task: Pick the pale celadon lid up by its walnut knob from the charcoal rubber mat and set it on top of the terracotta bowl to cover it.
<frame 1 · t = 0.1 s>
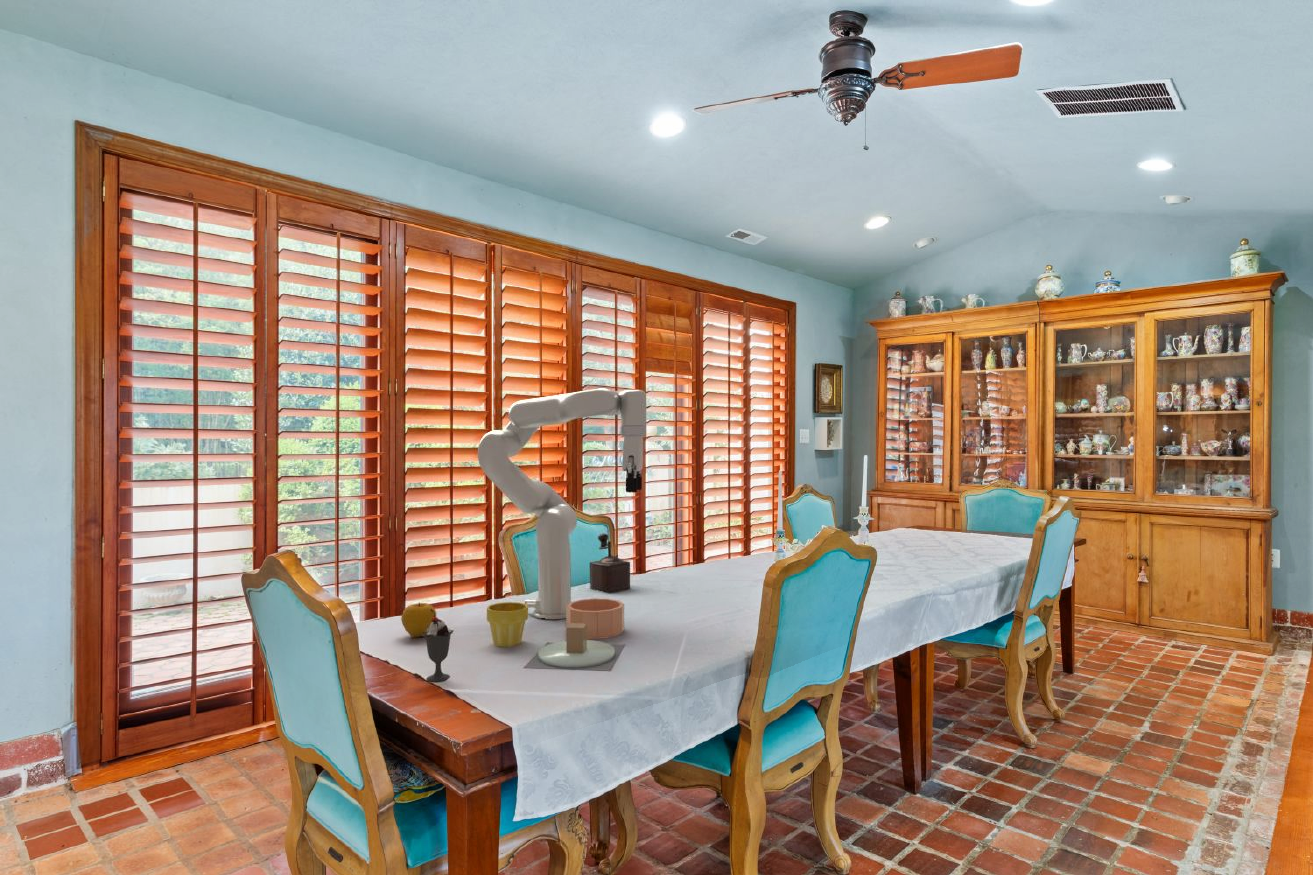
hand: (633, 490, 209), 37 cm above the table, tool pointing down, fingers open, 9 cm apart
sundae: (438, 679, 156), on the table
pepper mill: (606, 588, 249), on the table
plant pot: (507, 645, 181), on the table
bowl: (595, 632, 192), on the table
apple: (418, 637, 189), on the table
lid: (576, 655, 170), point 1 cm above the table, touching mat
mat: (576, 658, 170), on the table
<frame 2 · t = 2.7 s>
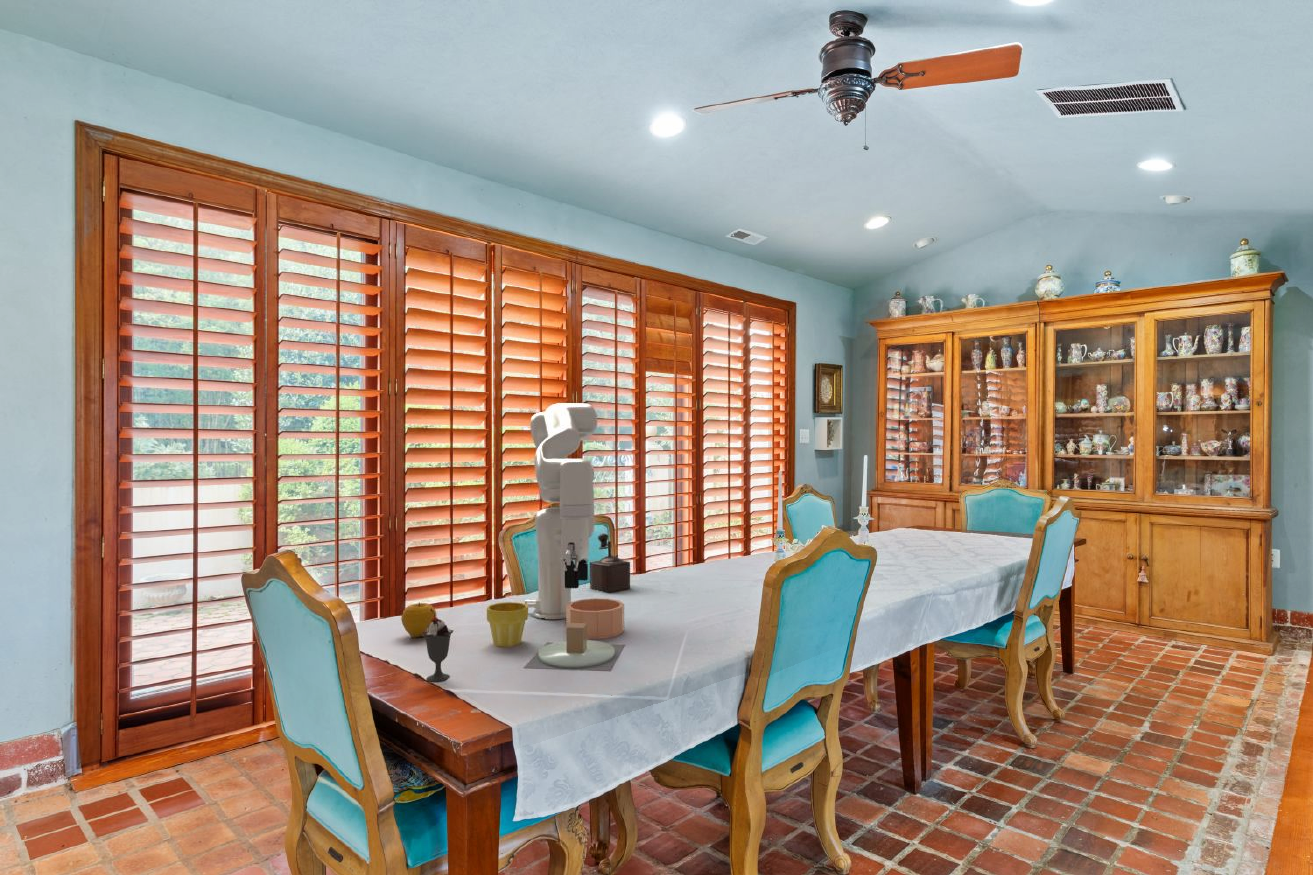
hand: (576, 583, 170), 18 cm above the table, tool pointing down, fingers open, 9 cm apart
nothing on the table moved.
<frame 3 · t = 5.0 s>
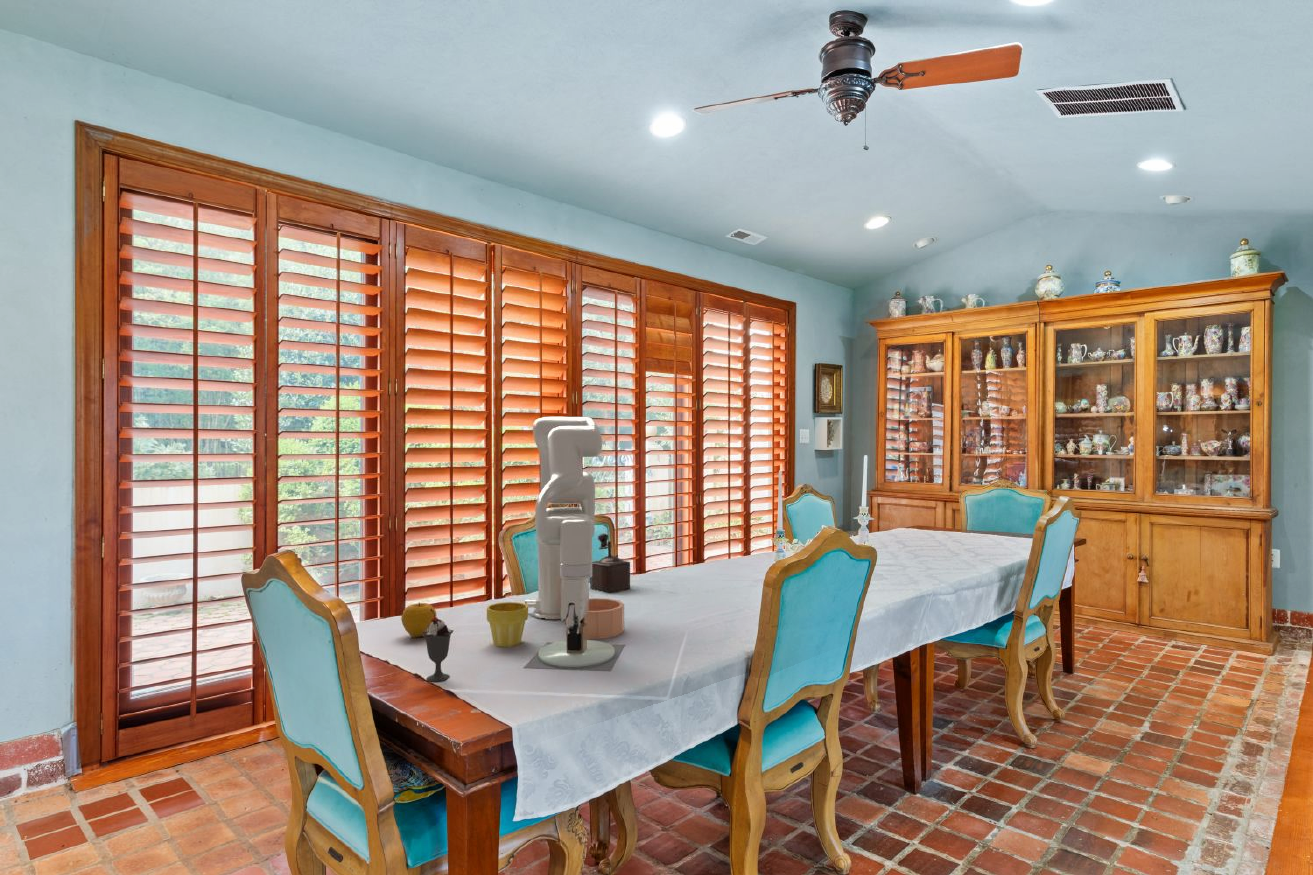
hand: (576, 646, 170), 3 cm above the table, tool pointing down, fingers closed on lid, 4 cm apart
lid: (576, 655, 170), point 1 cm above the table, touching gripper, mat
everything else where it was.
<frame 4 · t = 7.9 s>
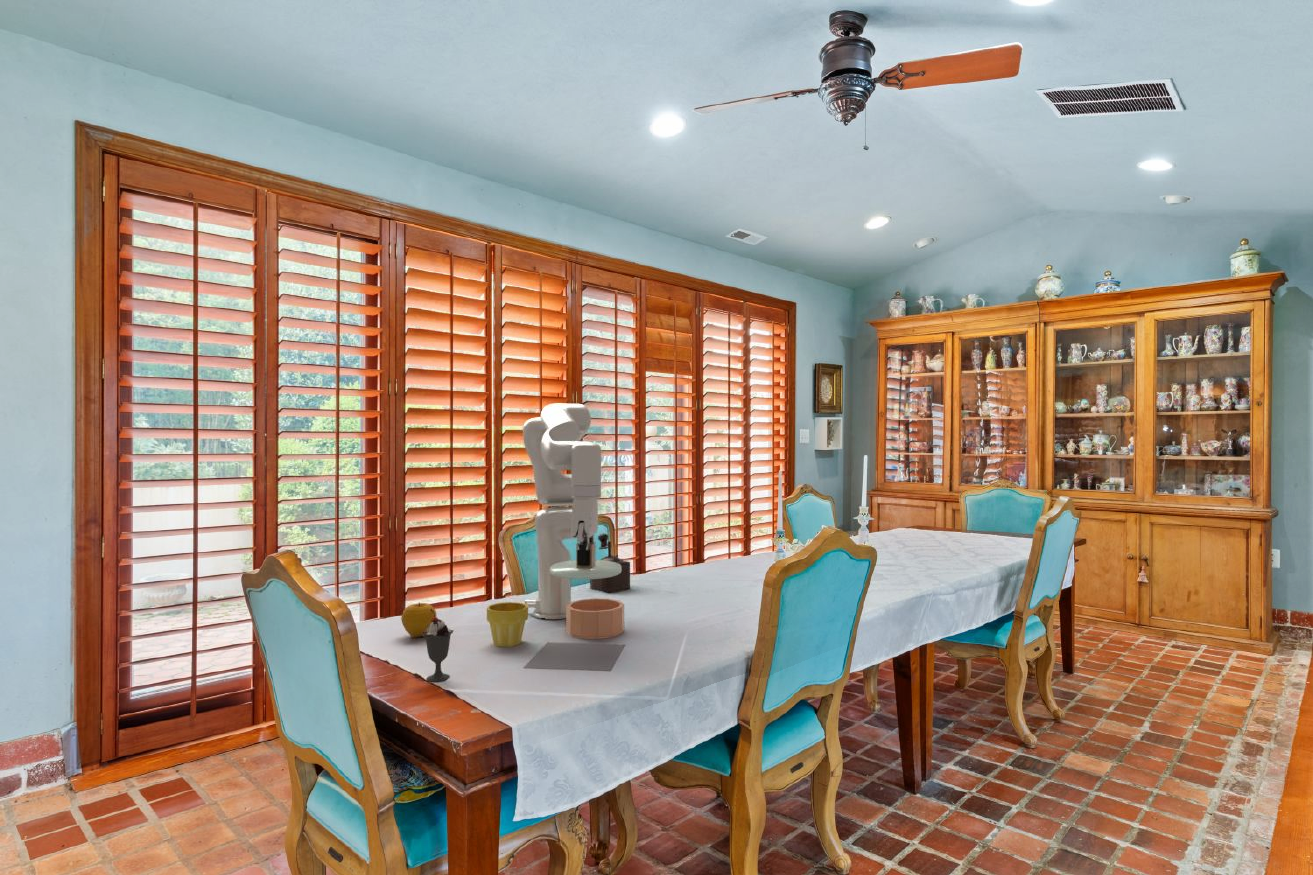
hand: (585, 562, 182), 21 cm above the table, tool pointing down, fingers closed on lid, 4 cm apart
lid: (586, 571, 182), point 18 cm above the table, touching gripper
everything else where it was.
when the fingers open (11 cm above the table, at t = 11.2 s): lid drops 2 cm, resting on bowl.
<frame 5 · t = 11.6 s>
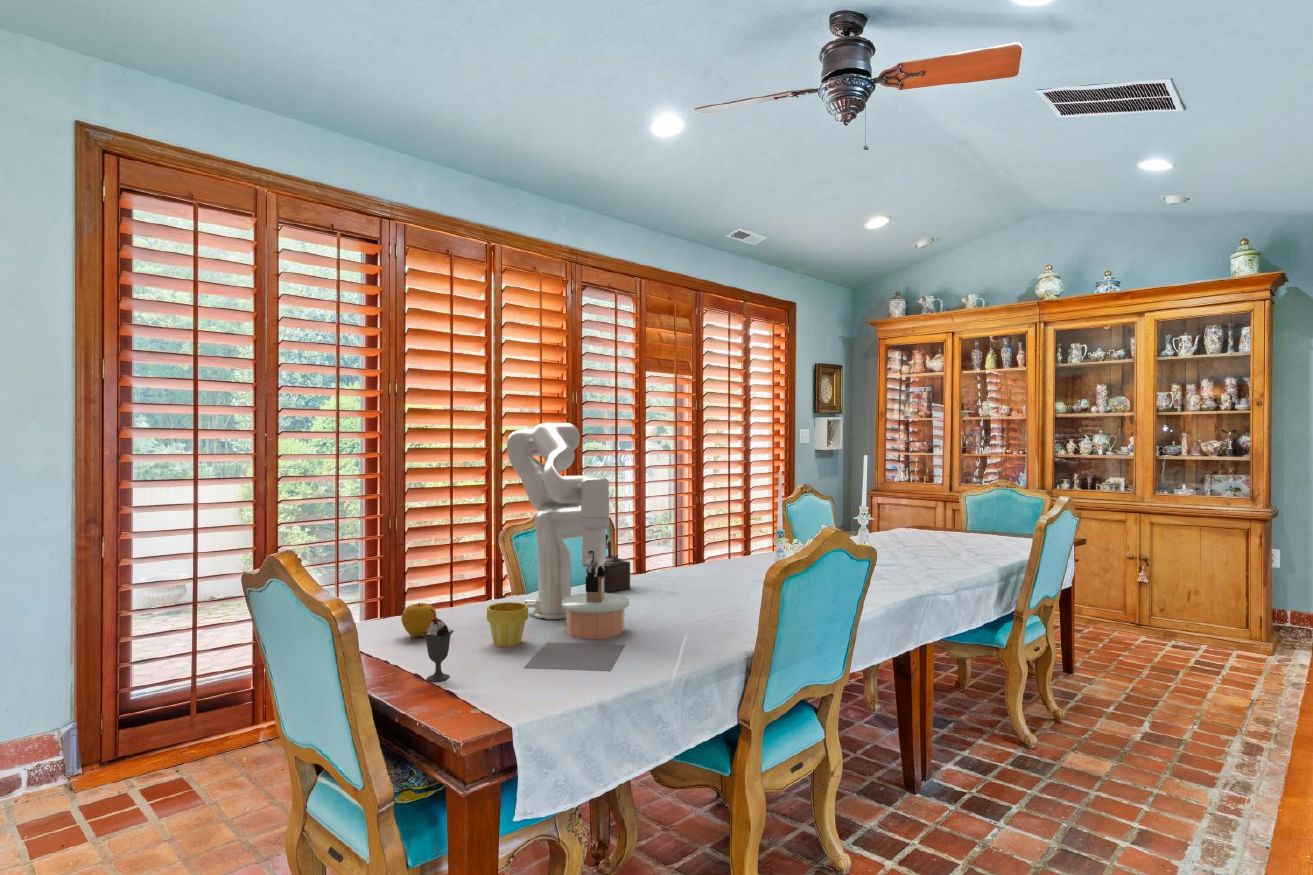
hand: (595, 587, 192), 12 cm above the table, tool pointing down, fingers open, 8 cm apart
lid: (595, 604, 192), point 7 cm above the table, touching bowl
everything else where it was.
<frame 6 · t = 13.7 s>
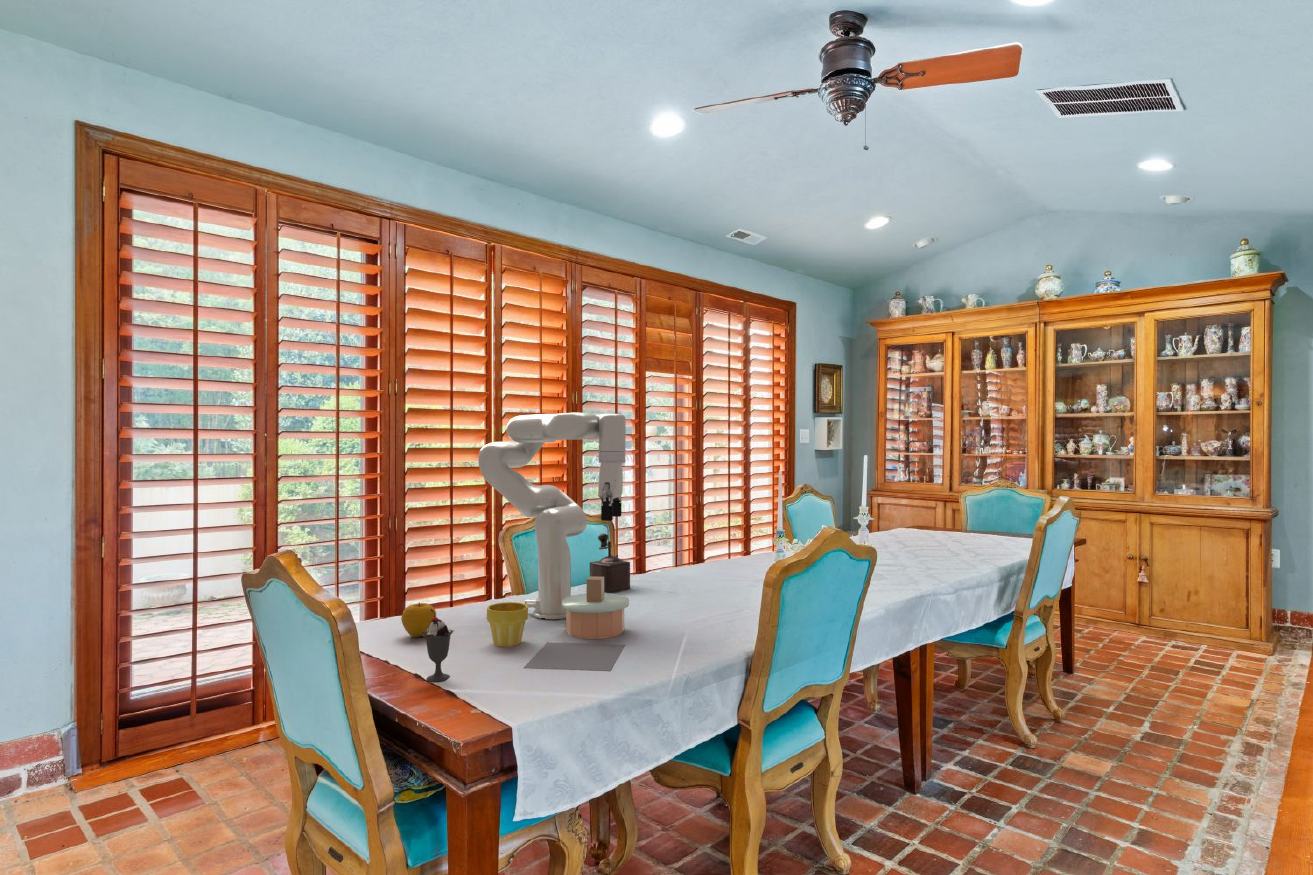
hand: (611, 518, 201), 30 cm above the table, tool pointing down, fingers open, 9 cm apart
nothing on the table moved.
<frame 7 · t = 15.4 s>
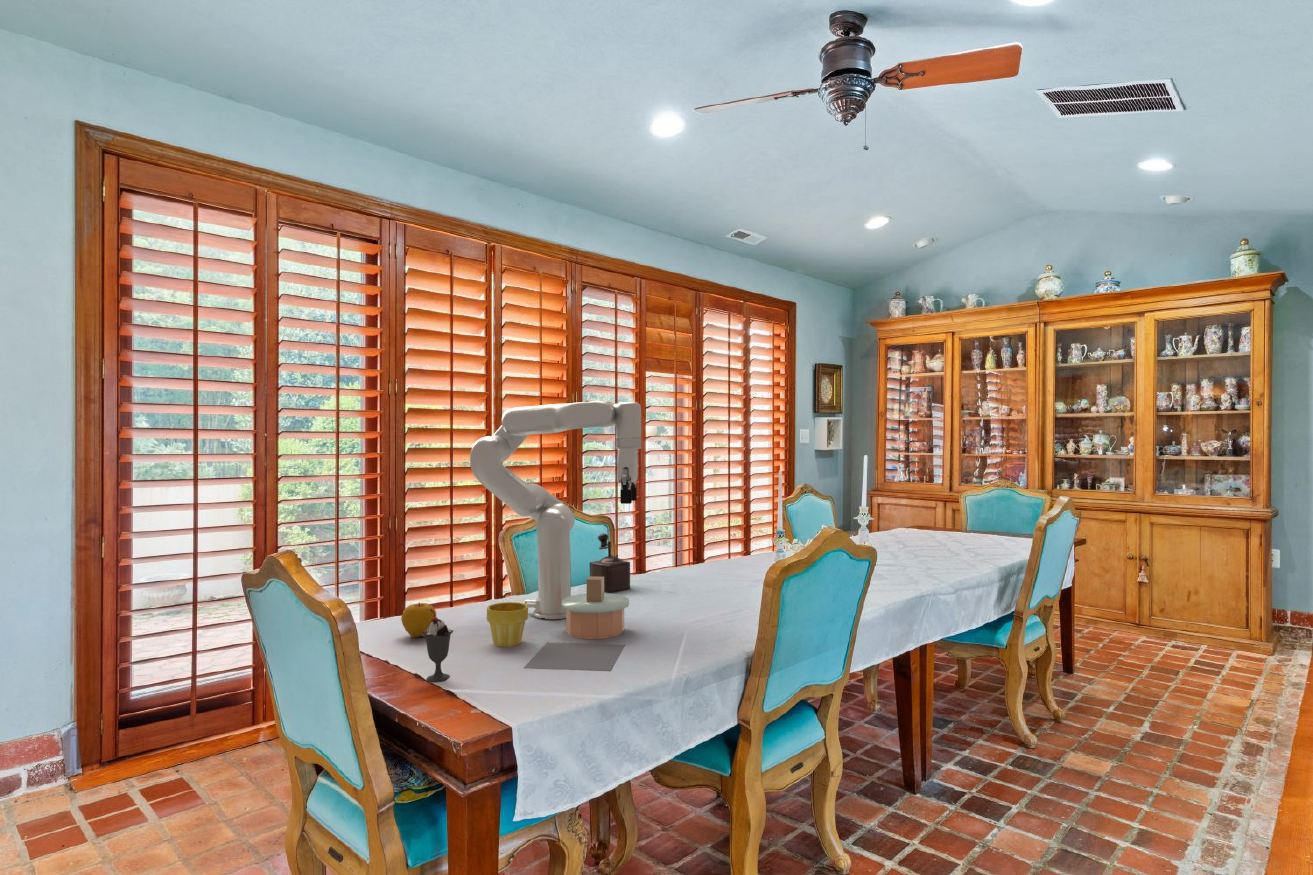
hand: (628, 501, 211), 33 cm above the table, tool pointing down, fingers open, 9 cm apart
nothing on the table moved.
at the end: lid 0.1 cm off-centre on the bowl, point 7.5 cm above the bowl's base; lid tilted 0°; the gripper is holding nothing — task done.
